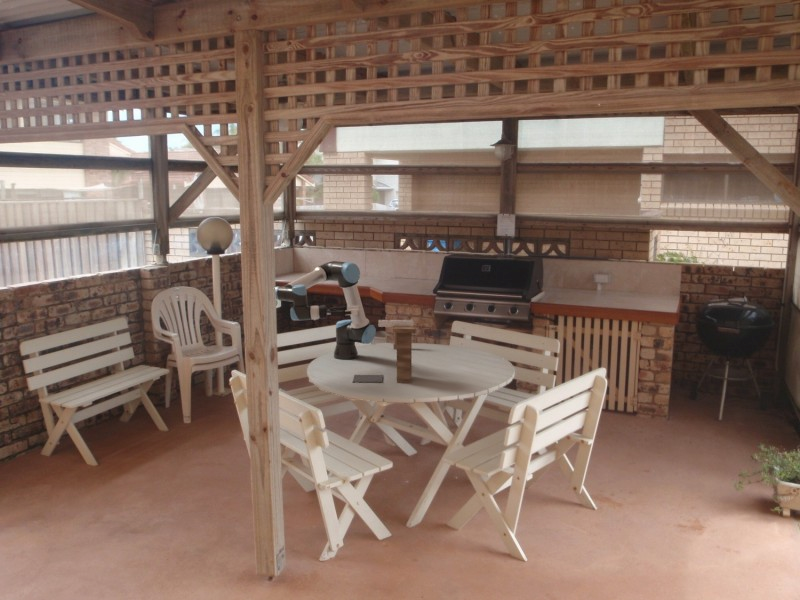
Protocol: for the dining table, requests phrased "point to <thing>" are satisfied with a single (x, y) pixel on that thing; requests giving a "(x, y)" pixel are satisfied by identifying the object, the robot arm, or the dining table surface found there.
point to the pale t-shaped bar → (395, 323)
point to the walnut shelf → (404, 352)
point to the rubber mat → (368, 378)
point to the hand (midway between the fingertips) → (358, 309)
